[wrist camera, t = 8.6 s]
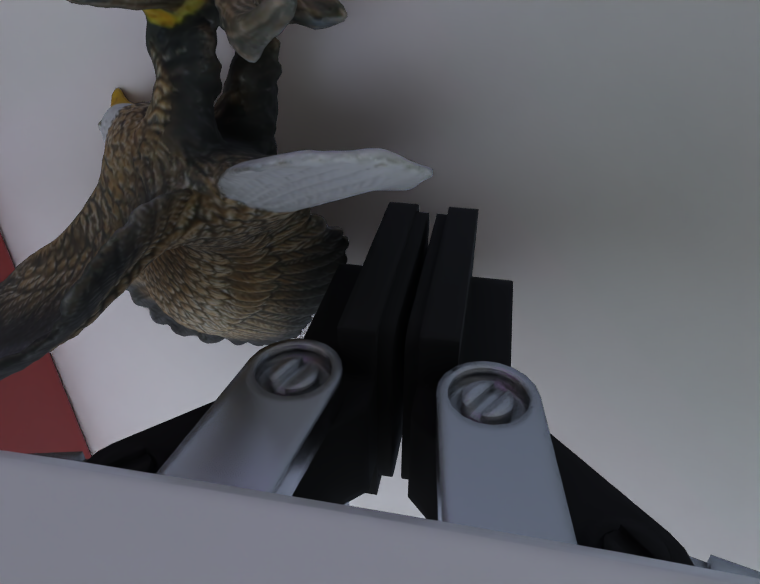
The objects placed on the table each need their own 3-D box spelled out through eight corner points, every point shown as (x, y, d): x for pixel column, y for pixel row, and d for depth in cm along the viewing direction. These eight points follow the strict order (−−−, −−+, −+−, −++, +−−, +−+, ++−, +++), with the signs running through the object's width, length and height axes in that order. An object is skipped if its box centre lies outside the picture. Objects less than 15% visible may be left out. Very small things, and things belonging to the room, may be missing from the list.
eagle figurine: (-82, -222, 8) (-128, 299, 12) (-258, -253, 3) (-244, 659, 7) (371, 0, 13) (234, 333, 16) (594, 132, 8) (323, 571, 11)
